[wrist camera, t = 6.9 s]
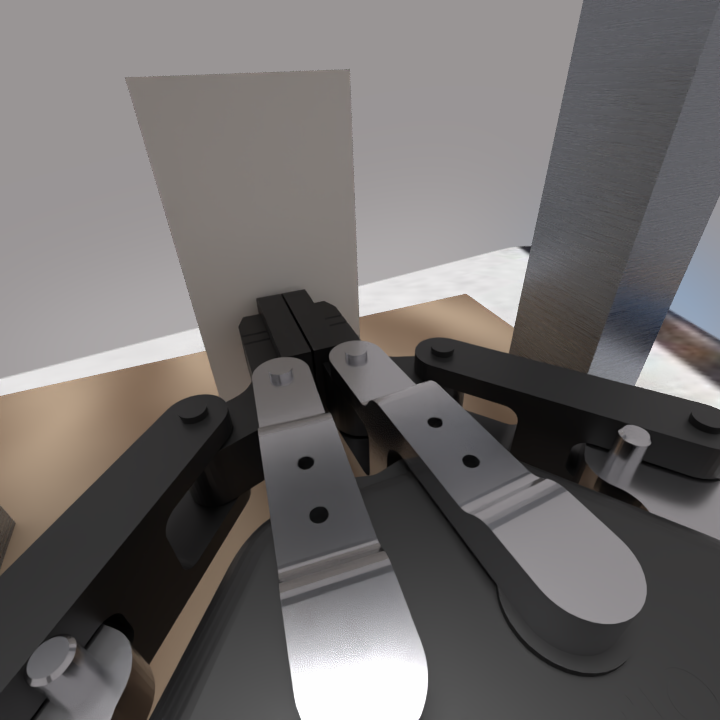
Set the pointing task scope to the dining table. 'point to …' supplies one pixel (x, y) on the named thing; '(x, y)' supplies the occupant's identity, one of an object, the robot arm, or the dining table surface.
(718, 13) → the grey two-legged stand
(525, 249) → the dining table surface
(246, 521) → the track board
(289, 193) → the plug
